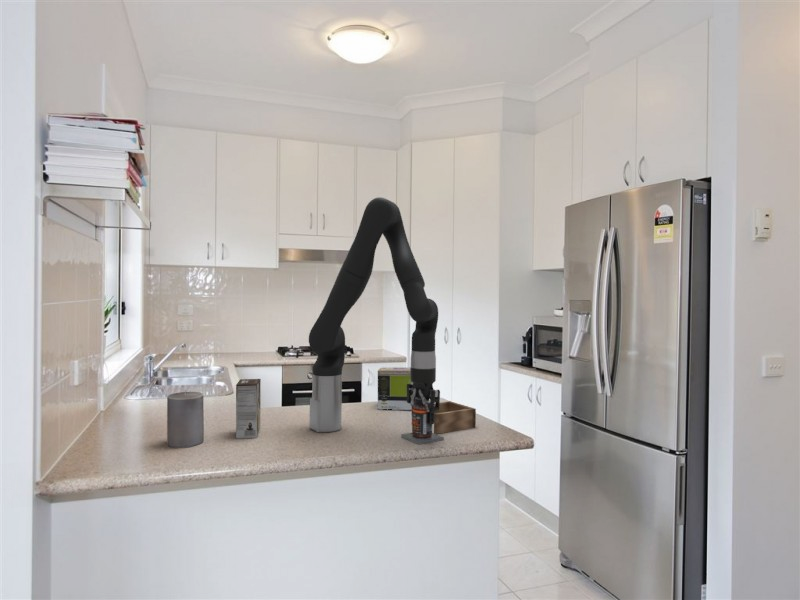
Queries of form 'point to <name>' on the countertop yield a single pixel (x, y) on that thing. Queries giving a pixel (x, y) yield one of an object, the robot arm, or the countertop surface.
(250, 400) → the coffee box
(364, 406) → the countertop surface
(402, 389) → the tea box
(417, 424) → the supplement bottle
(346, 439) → the countertop surface
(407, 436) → the slate coaster
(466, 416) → the walnut cubby
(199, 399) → the pillar candle
